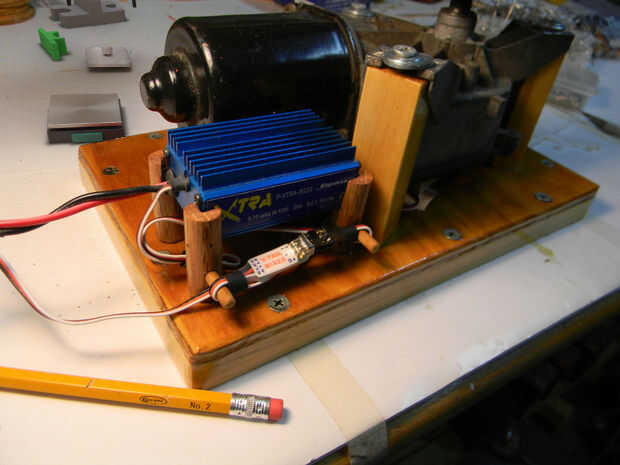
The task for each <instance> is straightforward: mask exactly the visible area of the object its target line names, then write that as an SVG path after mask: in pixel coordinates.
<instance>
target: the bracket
mask: <svg viewBox="0 0 620 465" xmlns="http://www.w3.org/2000/svg"><path fill="white" fill-rule="evenodd" d="M49 10H50V14H51V19H52V20H53V21H55V22H58V21H59V22H60V26H61V27H63V28H65V29H74V28H81V27H82V28H83V27H91V26H98V25H106V24H107V25H108V24H114V23H122V22H123V23H124V22H126V21H127V20H126V18H127V17H126V10H125V8H124V7H122V6H117V3H115V2H113V1H112V0H73V3H71V6H67V3H66V4H55V5H53V4H52V5H50V6H49Z"/></svg>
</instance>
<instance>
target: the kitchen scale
mask: <svg viewBox="0 0 620 465" xmlns="http://www.w3.org/2000/svg"><path fill="white" fill-rule="evenodd" d="M118 99H119V107H120V116H121V124H122V125H117V126H93V127H68V128H48V127H47V128H46V129H47V131H46V132H47V137H48V141H49V142H48V143H49V144H66V143H68V144H69V143H73V144H75V143H94V142H106V141H105V140H109V141H112V140H111V139H116V138H121V137H125V138H126V135H125V128H124V119H123V110H122V103H121V98H118Z"/></svg>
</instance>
